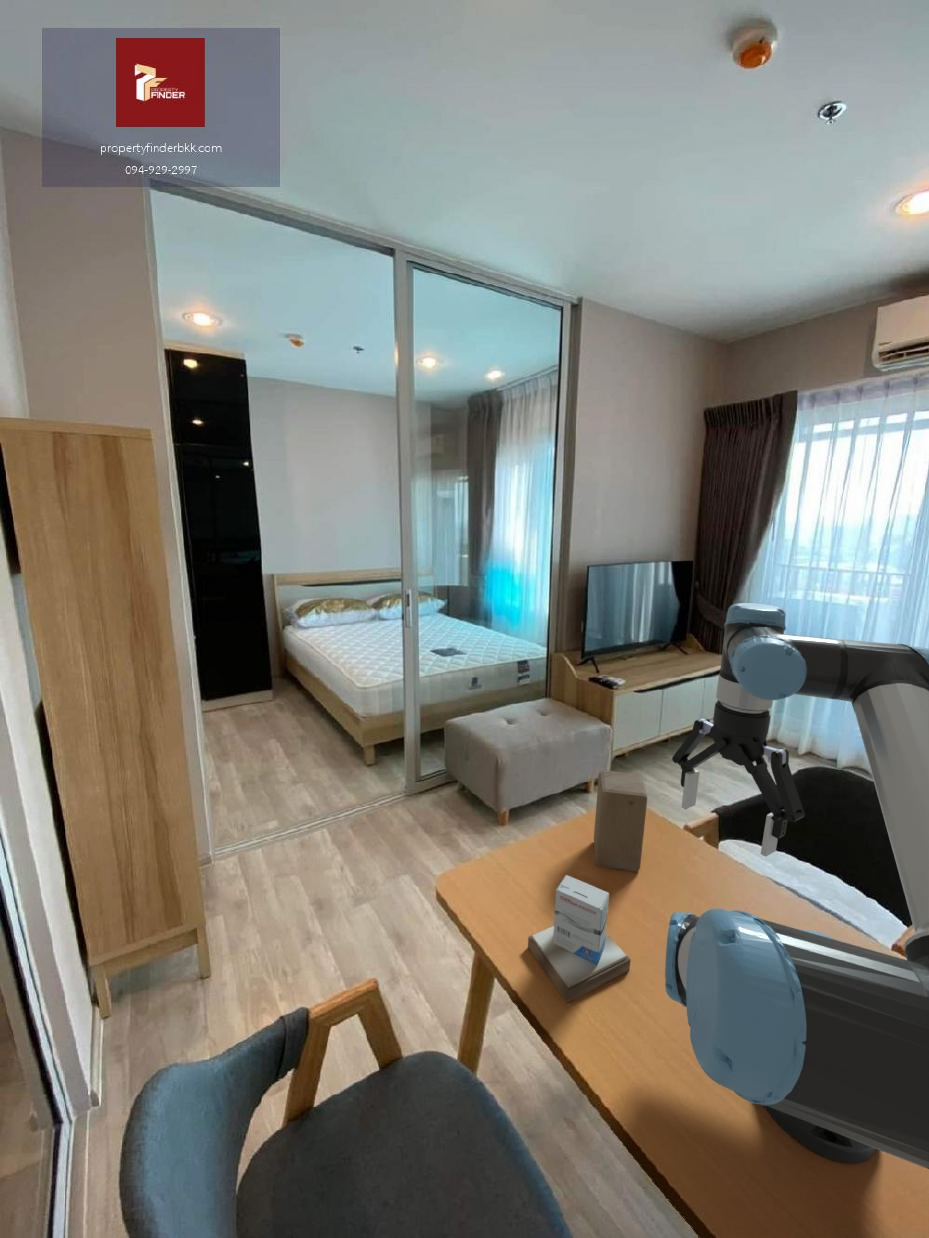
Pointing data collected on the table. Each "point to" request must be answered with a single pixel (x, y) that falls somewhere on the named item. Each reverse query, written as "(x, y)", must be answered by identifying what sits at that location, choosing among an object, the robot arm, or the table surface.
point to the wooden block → (619, 820)
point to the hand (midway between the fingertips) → (725, 827)
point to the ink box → (580, 918)
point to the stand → (576, 965)
